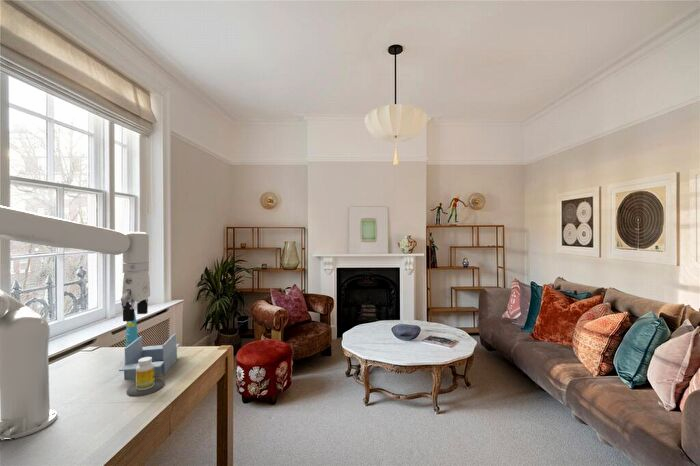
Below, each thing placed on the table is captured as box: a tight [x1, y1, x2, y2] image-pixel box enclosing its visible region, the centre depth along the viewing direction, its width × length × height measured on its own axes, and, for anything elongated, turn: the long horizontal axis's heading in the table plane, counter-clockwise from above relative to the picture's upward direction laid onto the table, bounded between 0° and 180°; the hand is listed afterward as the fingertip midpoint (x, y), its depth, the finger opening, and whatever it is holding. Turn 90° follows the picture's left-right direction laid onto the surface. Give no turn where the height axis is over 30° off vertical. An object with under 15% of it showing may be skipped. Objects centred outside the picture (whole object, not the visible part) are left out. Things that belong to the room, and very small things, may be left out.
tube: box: [125, 311, 139, 348], centre depth 139 cm, size 7×5×19 cm, turn 60°
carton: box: [118, 332, 180, 380], centre depth 125 cm, size 23×13×11 cm, turn 12°
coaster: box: [126, 378, 166, 397], centre depth 109 cm, size 11×11×1 cm
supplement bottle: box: [135, 357, 156, 390], centre depth 109 cm, size 5×5×10 cm
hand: (135, 317), depth 110 cm, fingers open, 9 cm apart
